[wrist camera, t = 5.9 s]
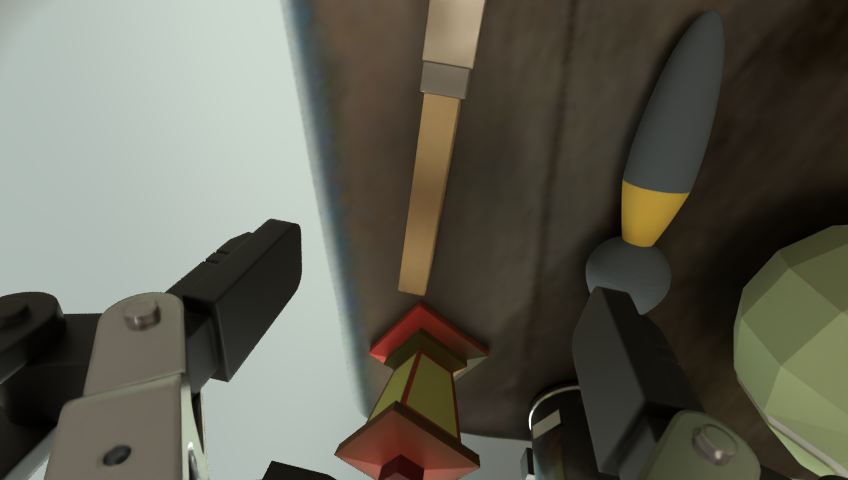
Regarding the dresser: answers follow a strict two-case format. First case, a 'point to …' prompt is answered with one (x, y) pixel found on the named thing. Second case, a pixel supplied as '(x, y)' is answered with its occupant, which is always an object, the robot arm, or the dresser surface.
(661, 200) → the paintbrush
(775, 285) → the decorative sphere
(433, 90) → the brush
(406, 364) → the light fixture
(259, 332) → the robot arm
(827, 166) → the dresser surface
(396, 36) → the dresser surface
